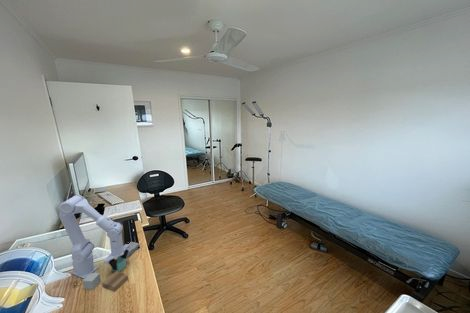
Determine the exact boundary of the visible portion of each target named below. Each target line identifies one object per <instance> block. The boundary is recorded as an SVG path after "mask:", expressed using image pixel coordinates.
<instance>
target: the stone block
mask: <svg viewBox="0 0 470 313" xmlns="http://www.w3.org/2000/svg"><path fill="white" fill-rule="evenodd" d="M129 242H130V243H129ZM129 242H128V243H129V245H130V248H127V250H128V251H129V252H128V254H127V257H126V259H128V258H130V257H131V256H132V255H133V254H134V253H135V252H136V251H137V250H138V249H139V248H140V243H138V242H135V241H129ZM124 245H126V243H125V244H123V246H124ZM138 247H139V248H138ZM118 257H120V256H118ZM118 257H117V258H118Z"/></svg>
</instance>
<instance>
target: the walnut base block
mask: <svg viewBox="0 0 470 313" xmlns="http://www.w3.org/2000/svg"><path fill="white" fill-rule="evenodd" d="M128 280H129V275H128V274H126V273H124V272H121V271H120V272H118V271H113V273H112V274H111V275H109V277H107V278H106V279H104V280H103V282H102V281H101V282H102V283H101V285H102V288H104V289H106V290H109V291H112V292H116V291H117V290H118V289H119V288H120V287H121V286H123V284H124V283H125V282H127V281H128Z"/></svg>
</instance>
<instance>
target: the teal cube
mask: <svg viewBox="0 0 470 313" xmlns="http://www.w3.org/2000/svg"><path fill="white" fill-rule="evenodd" d="M114 259H115V260H117V264H116V266H117V269H116V270H113V269H112V268H111V271H113V272H116V271H118V272H121V271H122V270H124V269H125V268H127V258H126V259H125V258H122V257H116V258H114Z"/></svg>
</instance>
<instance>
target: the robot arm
mask: <svg viewBox="0 0 470 313" xmlns="http://www.w3.org/2000/svg"><path fill="white" fill-rule="evenodd" d="M57 209H58V218H59V219H60V221H61V224H62V225H63V227H64V230H65V232H66V234H67V236H68V238H69V240H70V241H71V242H70V243H71V244H72V248H71V251H70V254H71V260H72V267H73V271H72V272H71V274H72V275H74V276H77V277H79V278H82V279H85V278H86V277H87V276H88V275H89V274H90V273H94V272H95V271H96V270H98V269H99V266H96V265H95V264H94V257H93V256H94V255H93V251H94V249H95V244H94V243H93V242H92V241H91V240H90V238H86V237H85V235H84V233H83V230H82V229H81V226H80V224H79V222H78V220H77V219H76V218H77V217H76V216H75V214H80V213H81V214H84V215H86V216H87V217H89V218H90V219H92V220H94V221H95V224H96V226H98V227H99V228H100V229H102V230H103V231H104V232H106V236H107V237H108V238H109V242H110V253H109V255H108V256H107V257H106V258H105V259H104V260H103V264H105V265H108V264H109V265H110V267H111V270H112V269H113V270H116V269H117V266H116V264H117V260H115V259H117V258H118V256H120V257H122V258H125V259H126V260H127V258H126V257H127V254H128V252H129V251H128V250H127V248H130V245H129V244H126V243H125V244H126V245H125V244H124V243H123V236H122V231H123V228H124V226H123V225H122V224H121V222H116V221H114V220H112V219H111V218H110V216H107V215H102V214H100V212H98V210H96V209H95V208H94V207H93V206H92V205H91V204H89V201H88V199H86V198H85V197H84V196H83V195H80V194H75V195H73V196H72V197H70V198H68V199H67V200H65V201H63V202H61V203H60V205H59V206H58V207H57ZM123 245H124V246H123ZM113 270H112V271H113Z"/></svg>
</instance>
